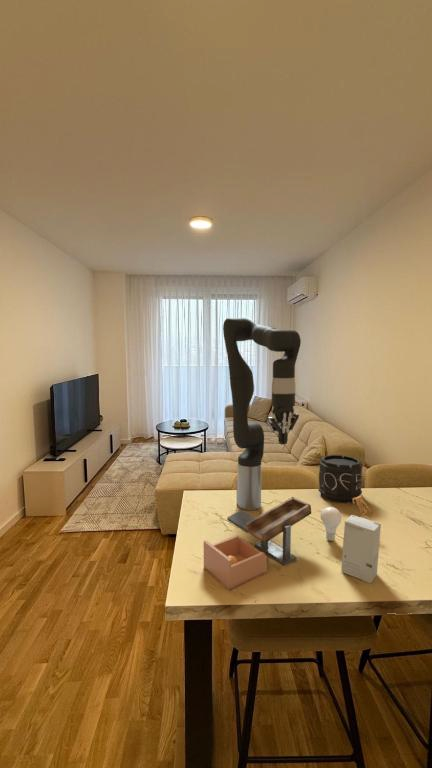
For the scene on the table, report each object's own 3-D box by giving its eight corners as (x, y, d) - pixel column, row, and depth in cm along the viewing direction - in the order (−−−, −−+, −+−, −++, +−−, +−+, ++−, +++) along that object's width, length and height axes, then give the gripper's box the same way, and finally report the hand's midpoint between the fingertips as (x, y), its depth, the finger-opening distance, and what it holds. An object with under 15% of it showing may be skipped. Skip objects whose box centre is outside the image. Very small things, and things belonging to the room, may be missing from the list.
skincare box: (341, 572, 100) (342, 520, 99) (348, 562, 105) (350, 513, 103) (372, 584, 95) (374, 530, 93) (379, 574, 99) (381, 522, 98)
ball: (228, 568, 102) (218, 565, 100) (234, 554, 103) (224, 551, 101) (237, 575, 99) (227, 573, 97) (242, 560, 100) (232, 558, 98)
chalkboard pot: (341, 508, 142) (342, 469, 140) (309, 492, 158) (310, 457, 156) (372, 499, 150) (374, 462, 149) (339, 485, 166) (340, 452, 165)
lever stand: (266, 541, 117) (266, 510, 116) (296, 560, 106) (297, 525, 105) (254, 546, 114) (254, 514, 113) (284, 565, 103) (285, 530, 102)
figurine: (378, 531, 123) (379, 497, 122) (364, 535, 121) (365, 500, 120) (360, 521, 130) (361, 489, 129) (346, 524, 128) (347, 491, 127)
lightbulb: (340, 537, 119) (341, 505, 118) (340, 546, 113) (341, 513, 112) (320, 534, 121) (321, 502, 120) (319, 543, 115) (320, 510, 114)
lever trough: (272, 495, 127) (271, 487, 127) (311, 513, 113) (310, 504, 112) (227, 520, 116) (226, 511, 116) (264, 543, 102) (263, 533, 101)
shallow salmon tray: (203, 568, 102) (203, 540, 102) (239, 553, 110) (239, 528, 109) (229, 590, 93) (229, 560, 92) (266, 572, 100) (266, 545, 99)
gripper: (289, 389, 124) (288, 438, 126) (260, 391, 117) (260, 444, 118) (306, 391, 118) (305, 443, 120) (276, 393, 111) (276, 449, 112)
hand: (282, 443), depth 119 cm, fingers closed
